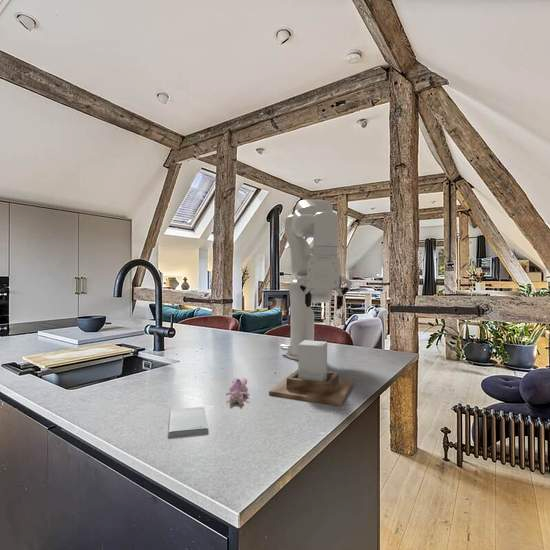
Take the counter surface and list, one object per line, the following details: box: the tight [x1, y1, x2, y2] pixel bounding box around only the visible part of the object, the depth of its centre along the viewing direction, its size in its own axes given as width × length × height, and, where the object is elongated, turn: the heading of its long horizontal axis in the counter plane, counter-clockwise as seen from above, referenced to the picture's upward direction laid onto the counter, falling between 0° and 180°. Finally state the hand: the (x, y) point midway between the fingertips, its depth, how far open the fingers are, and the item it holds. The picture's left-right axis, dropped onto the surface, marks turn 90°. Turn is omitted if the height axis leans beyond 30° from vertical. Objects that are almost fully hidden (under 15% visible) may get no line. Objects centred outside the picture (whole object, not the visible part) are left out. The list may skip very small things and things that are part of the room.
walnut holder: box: [268, 369, 354, 407], centre depth 105 cm, size 20×20×4 cm
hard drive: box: [167, 406, 210, 438], centre depth 80 cm, size 2×8×12 cm
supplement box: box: [297, 340, 328, 382], centre depth 105 cm, size 7×7×13 cm
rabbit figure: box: [225, 377, 250, 406], centre depth 97 cm, size 6×6×15 cm
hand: (323, 307), depth 111 cm, fingers open, 9 cm apart
